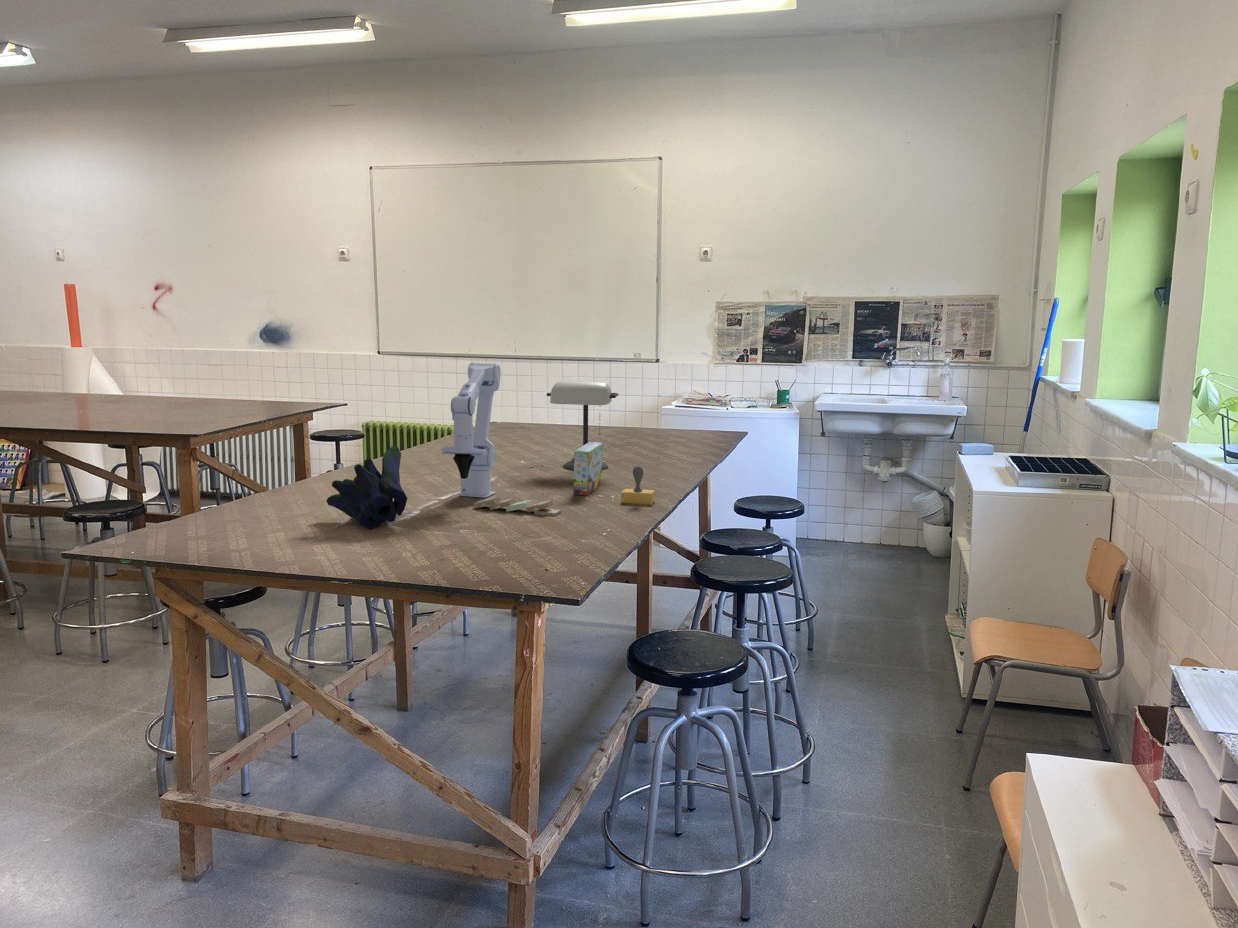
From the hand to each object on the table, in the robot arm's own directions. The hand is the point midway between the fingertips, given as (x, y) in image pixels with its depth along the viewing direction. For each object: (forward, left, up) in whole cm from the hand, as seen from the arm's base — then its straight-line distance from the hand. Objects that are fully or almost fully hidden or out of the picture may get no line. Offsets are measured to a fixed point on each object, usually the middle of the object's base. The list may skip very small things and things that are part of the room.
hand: (464, 478), depth 279 cm
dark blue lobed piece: (-17, -26, -9) cm, 32 cm away
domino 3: (+15, 0, -8) cm, 17 cm away
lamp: (+12, +74, -9) cm, 75 cm away
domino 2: (+10, 0, -8) cm, 13 cm away
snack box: (+27, +38, -9) cm, 48 cm away
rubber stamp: (+49, +25, -9) cm, 56 cm away
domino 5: (+25, 0, -9) cm, 26 cm away
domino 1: (+4, 0, -8) cm, 9 cm away
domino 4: (+22, 0, -8) cm, 23 cm away
